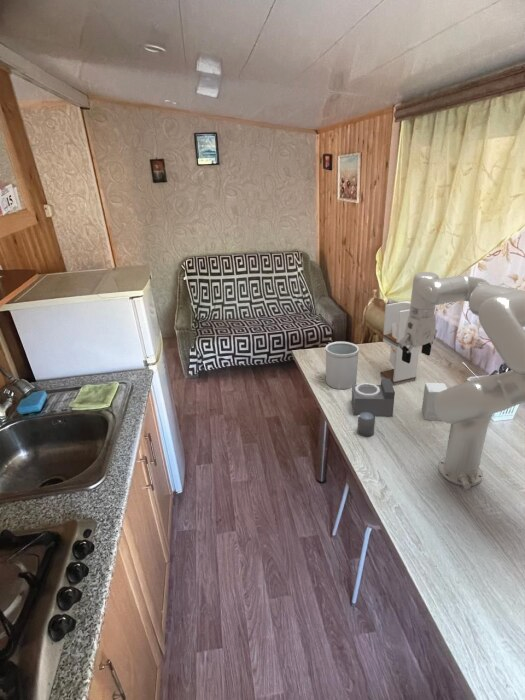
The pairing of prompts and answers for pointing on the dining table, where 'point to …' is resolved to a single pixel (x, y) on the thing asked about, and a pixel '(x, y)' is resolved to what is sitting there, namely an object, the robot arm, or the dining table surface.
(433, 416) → the supplement box
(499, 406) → the robot arm
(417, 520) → the dining table surface
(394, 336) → the slotted white tower
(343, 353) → the utensil holder
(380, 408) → the camera body
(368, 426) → the lens
